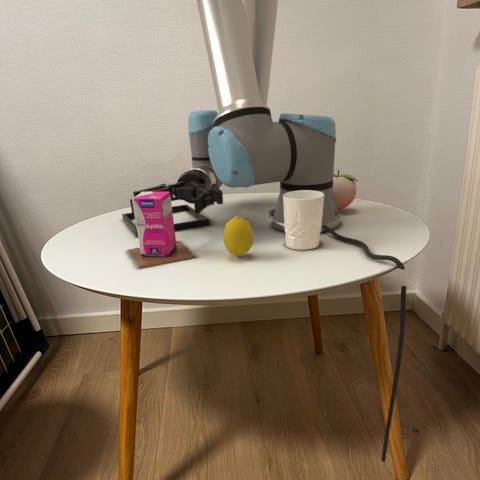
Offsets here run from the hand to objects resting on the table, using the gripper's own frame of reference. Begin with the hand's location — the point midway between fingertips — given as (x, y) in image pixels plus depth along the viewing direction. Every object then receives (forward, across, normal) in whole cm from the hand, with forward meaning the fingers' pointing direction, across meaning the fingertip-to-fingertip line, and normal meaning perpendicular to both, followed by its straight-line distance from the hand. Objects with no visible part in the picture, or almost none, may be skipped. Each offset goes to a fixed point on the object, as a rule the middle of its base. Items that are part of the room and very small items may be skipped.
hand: (163, 206), depth 86 cm
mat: (+4, 0, -8) cm, 10 cm away
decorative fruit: (-29, -33, -9) cm, 45 cm away
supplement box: (+4, 0, -8) cm, 9 cm away
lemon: (+5, -16, -9) cm, 19 cm away
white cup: (-4, -27, -9) cm, 29 cm away
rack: (-18, +8, -8) cm, 22 cm away
